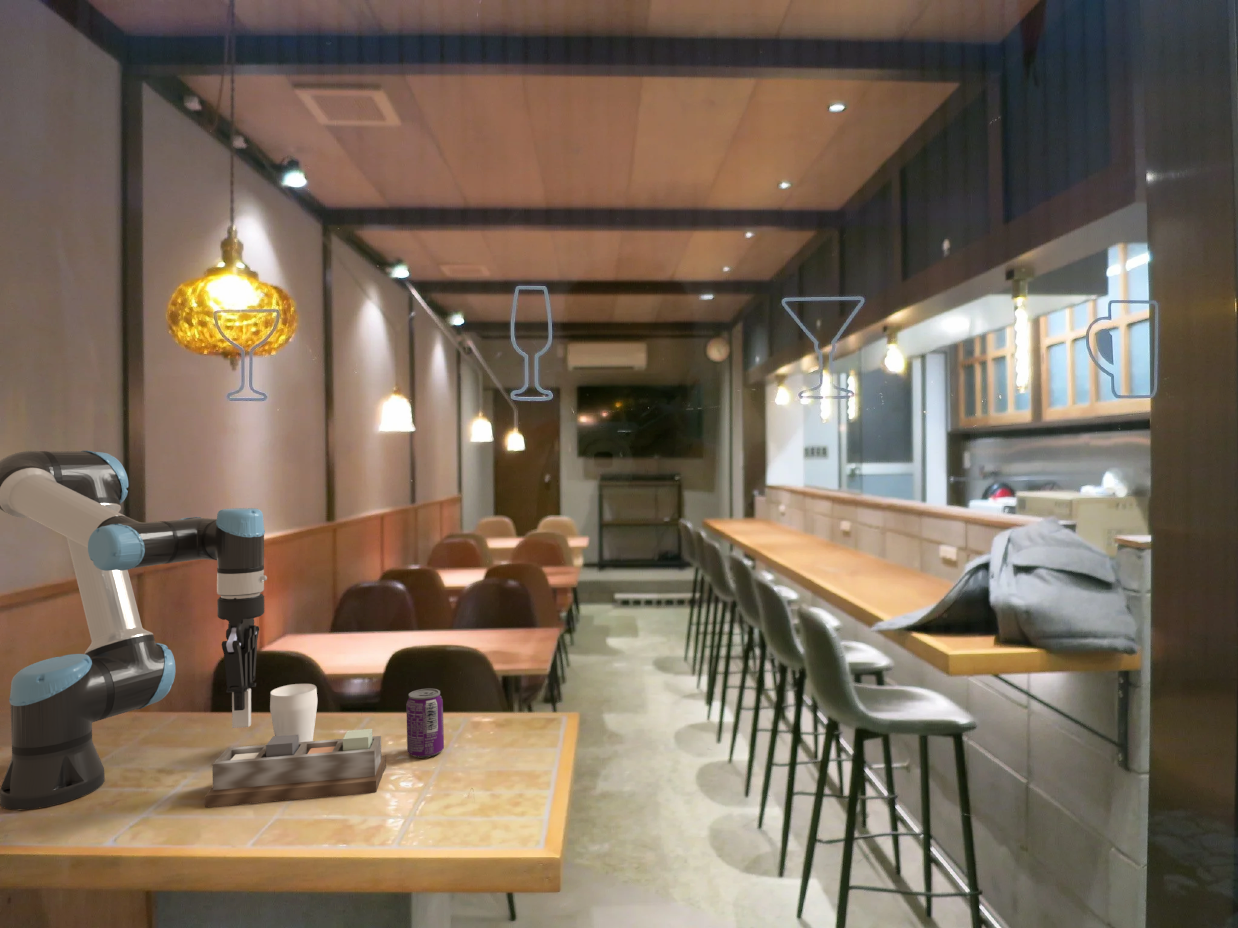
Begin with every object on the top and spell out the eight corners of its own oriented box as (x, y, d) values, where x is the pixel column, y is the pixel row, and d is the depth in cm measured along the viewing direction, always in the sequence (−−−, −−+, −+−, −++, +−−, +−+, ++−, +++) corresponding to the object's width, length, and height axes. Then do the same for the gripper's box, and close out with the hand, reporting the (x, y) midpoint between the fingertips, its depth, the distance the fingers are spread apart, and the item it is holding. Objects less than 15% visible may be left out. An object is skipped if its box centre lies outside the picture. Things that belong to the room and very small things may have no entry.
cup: (307, 755, 150) (305, 695, 150) (262, 756, 151) (261, 696, 151) (325, 739, 159) (324, 682, 159) (283, 740, 160) (282, 683, 160)
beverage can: (448, 746, 154) (447, 687, 154) (437, 760, 147) (435, 698, 147) (415, 746, 154) (413, 687, 154) (401, 759, 147) (400, 698, 147)
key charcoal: (266, 761, 133) (266, 744, 133) (273, 752, 138) (273, 736, 138) (292, 759, 134) (292, 742, 134) (298, 750, 138) (298, 734, 138)
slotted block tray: (205, 807, 128) (204, 769, 128) (229, 778, 140) (229, 743, 140) (376, 791, 133) (375, 754, 133) (386, 765, 144) (385, 731, 144)
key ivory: (227, 780, 132) (226, 763, 132) (235, 770, 136) (235, 754, 136) (254, 778, 133) (253, 761, 133) (261, 768, 137) (261, 752, 137)
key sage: (343, 755, 135) (342, 738, 135) (347, 746, 140) (347, 730, 140) (368, 753, 136) (368, 736, 136) (372, 744, 140) (372, 728, 140)
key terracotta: (305, 773, 134) (305, 757, 134) (311, 764, 139) (310, 748, 139) (331, 771, 135) (330, 755, 135) (336, 762, 139) (335, 746, 139)
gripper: (251, 600, 129) (252, 737, 129) (273, 587, 142) (274, 712, 142) (204, 602, 128) (205, 740, 128) (231, 589, 141) (231, 715, 141)
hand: (241, 725), depth 135 cm, fingers closed
